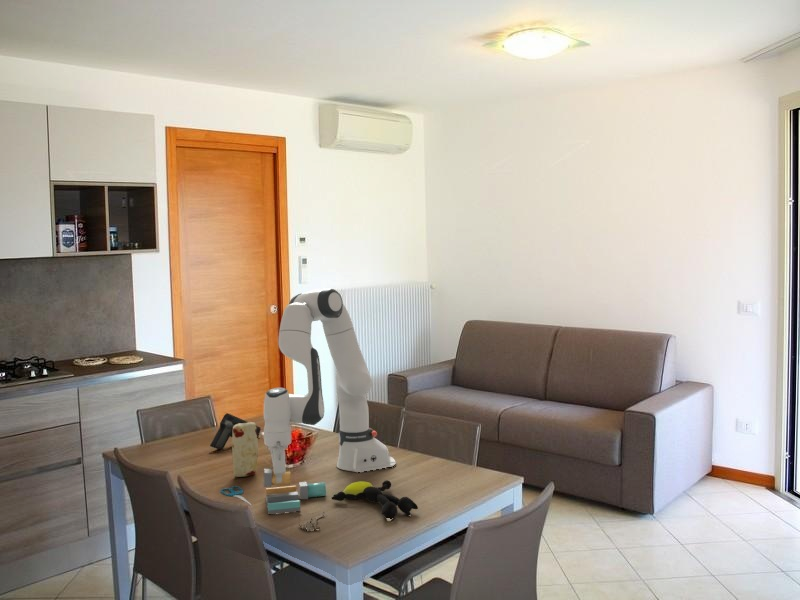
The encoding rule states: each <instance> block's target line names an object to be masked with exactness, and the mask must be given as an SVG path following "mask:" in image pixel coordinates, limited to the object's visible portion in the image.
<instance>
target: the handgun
mask: <svg viewBox="0 0 800 600" xmlns="http://www.w3.org/2000/svg"><path fill="white" fill-rule="evenodd" d="M248 422H249V421H247V420H244V419H242V418H239V417H237V416H235V415H233V414H231V413H227V412H226V413H225V414H224V415H223V417H222V418H221V421H220V423H219V428H218V430H217V432H216V433H215V434H214V437H213V439H212V441H211V443H210V444H209V447H211V448H214V449H216V450H219V449H220V450H221V449H223V450H224V448H225V446H226V444H227V443H228V440H229V438H232V434H233V426H234V425H236V424H239V423H248ZM256 430H257V436H258V437H259V436H260V432H261V430H262V429H261V427H260V426H258V425H256ZM221 451H222V450H221Z"/></svg>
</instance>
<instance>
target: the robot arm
mask: <svg viewBox="0 0 800 600" xmlns="http://www.w3.org/2000/svg"><path fill="white" fill-rule="evenodd" d="M316 321H317V322H318V321H320V322H321V323H322V328H323V332H324V336H325V340H326V343H327V346H328V350H329V354H330V356H331V358H332V360H333V363H334V366H335V368H336V372H335V381H336V382H335V383H336V393H337V394H336V395H337V400H338V408H339V409H338V411H339V429H338V444H339V451H338V458H337V463H336V467H337V468H338V469H340V470H342V471H349V472H353V473H358V472H360V473H365V472H364V471H367V472H371V471H370V470H373V471H377V470H376V469H379V470H383V469H382V468H385V469H387V468H386V467H391V466H394V465H395V464H396V460H395V459H394V457H392V456H390V452H389V449H388V447H387V446H386V445H385V444H384V443H383V442H381V441H380V440H378V439H377V438H375V437H377V436H378V432H377V431H376V430H374V429H373V428H371V427H369V426H370V422H369V421H370V420H369V418H370V417H369V414H370V413H369V406H368V405H369V404H368V399H367V394H369V391H370V390H371V388H372V385H373V383H372V378H371V377H372V376H371V374H370V371H369V369H368V366H367V363H366V361H365V358H364V355H363V354H362V350H361V347H360V345H359V342H358V337H357V335H356V332H355V327H354V324H353V321H352V319H351V316H350V313H349V311H348V310H347V307H346V305H345V304H344V302H343V297H342V296H341V294H340V293H339V292H338V291H337V290H336V289H334V288H329V287H328V288H327V287H326V288H323V289H321V288H320V289H312V290H310V291H306V292H303V293H298V294H296V295H294V296H293V297H292V298H291V299H290V301H289V302H288V305H286V307H284V311H283V314H282V317H281V321H280V323H279V324H280V325H279V333H278V348H279V350H280V353H282V354H283V355H284V356H285V357H287V358H288V359H291V360H293V361H295V362H297V363H299V364H301V365H303V366H304V367H305V369H306V375H307V376H306V377H307V388H308V390H307V391H308V393H307V394H295V393H289V389H287V388H284V387H274V388H271V389H269V390H267V391H266V392H265V394H264V399H263V420H264V427H263V440H264V441H263V445H265V446H266V447H267V449H268V450H269V451H270V456H271V461H272V471H274V474H276V482H277V483H281V482H282V474H285V472H287V471H286V452H285V450H287V449H288V446H289V445H290V444H291V443H292V427H291V424H303V425H311V426H315V425H316V424H319V422H321V420H322V419H324V415H325V403H324V402H325V401H324V398H323V397H324V396H323V389H322V372H321V363H320V355H319V352H318V350H317V349H315V348H314V347H313V344H312V339H311V337H312V323H313V322H316ZM395 466H396V465H395ZM395 466H394V467H395Z"/></svg>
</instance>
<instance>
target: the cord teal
mask: <svg viewBox="0 0 800 600" xmlns="http://www.w3.org/2000/svg"><path fill="white" fill-rule="evenodd" d="M326 495H327V487H326V482H325V481H324V482H323V481H322V482H315V483H313V482H311V483H308V482H307V481H299V483H298V497H299V499H307V500H309V498H315V497H317V496H318V497H325V496H326ZM318 497H317V498H318Z"/></svg>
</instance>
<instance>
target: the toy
mask: <svg viewBox="0 0 800 600" xmlns="http://www.w3.org/2000/svg"><path fill="white" fill-rule="evenodd" d="M391 487H392V482H391V481H390V480H384V481H383V482H382V483H381V487H376V486H373V485H372V483H371V482H369V481H355V482H352V483H349V484H348V485H347V486H346V487H345V488H344V490H343V491H338V492H337V493H335V494H334V495H332V496H331V500H334V501H339V502H343V501H345V500H355V499H356V500H360V499H363V498H365V500H366V501H369V502H370V503H379V505H381V506H382V508H381V515H382V516H383V517H384V518H385V517H386V518H390V519H392V518H394V519H395V517H396V515H397V514H398V513H397V512H398V509H399V510H400V511H401V512H402V513H403V514H405V515H406V514H407V516H408V515H410V514H411V511H412V510H419V507H418V505H417V504H416V503H415V502H414V500H412V499H411V498H409V497H408V496H402V497H400V498H398V497H397V496H395V495H392V494H388V493H383V492H384V491H386V490H389V489H391ZM386 518H385V519H386Z"/></svg>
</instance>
